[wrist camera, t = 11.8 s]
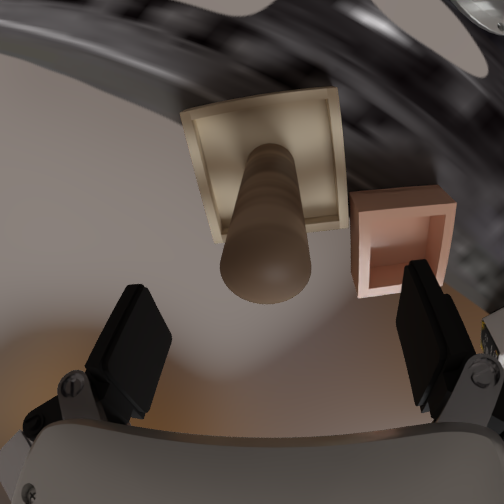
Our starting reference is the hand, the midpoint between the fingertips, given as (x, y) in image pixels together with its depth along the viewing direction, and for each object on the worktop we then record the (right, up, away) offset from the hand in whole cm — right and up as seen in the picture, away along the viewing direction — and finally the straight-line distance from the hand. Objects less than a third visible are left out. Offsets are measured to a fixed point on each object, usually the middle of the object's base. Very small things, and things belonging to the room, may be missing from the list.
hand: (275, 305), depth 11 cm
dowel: (+1, +9, +14) cm, 17 cm away
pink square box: (+13, +4, +18) cm, 22 cm away
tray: (+1, +9, +15) cm, 18 cm away
